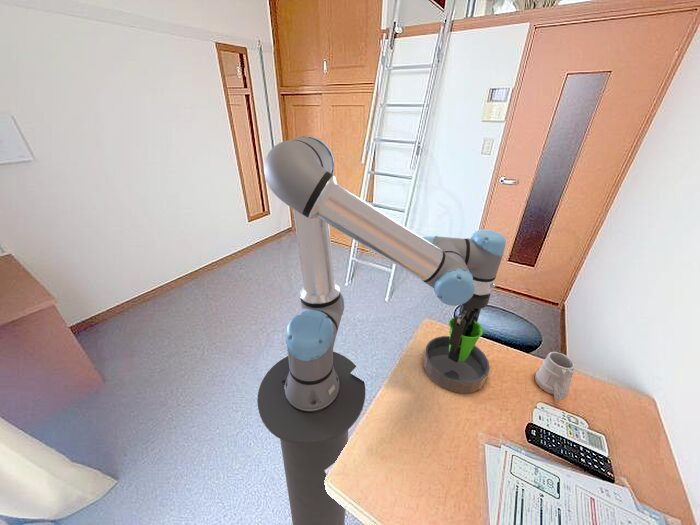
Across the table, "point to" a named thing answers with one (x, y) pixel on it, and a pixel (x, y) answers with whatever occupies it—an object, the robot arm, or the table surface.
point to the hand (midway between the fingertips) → (457, 354)
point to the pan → (455, 367)
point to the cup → (467, 340)
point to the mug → (555, 374)
